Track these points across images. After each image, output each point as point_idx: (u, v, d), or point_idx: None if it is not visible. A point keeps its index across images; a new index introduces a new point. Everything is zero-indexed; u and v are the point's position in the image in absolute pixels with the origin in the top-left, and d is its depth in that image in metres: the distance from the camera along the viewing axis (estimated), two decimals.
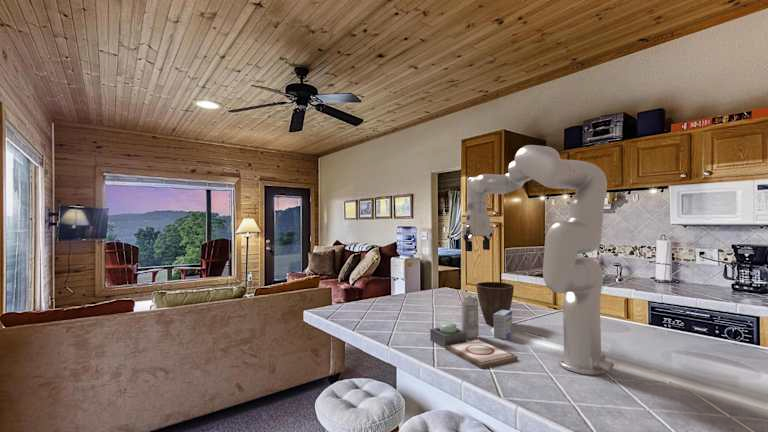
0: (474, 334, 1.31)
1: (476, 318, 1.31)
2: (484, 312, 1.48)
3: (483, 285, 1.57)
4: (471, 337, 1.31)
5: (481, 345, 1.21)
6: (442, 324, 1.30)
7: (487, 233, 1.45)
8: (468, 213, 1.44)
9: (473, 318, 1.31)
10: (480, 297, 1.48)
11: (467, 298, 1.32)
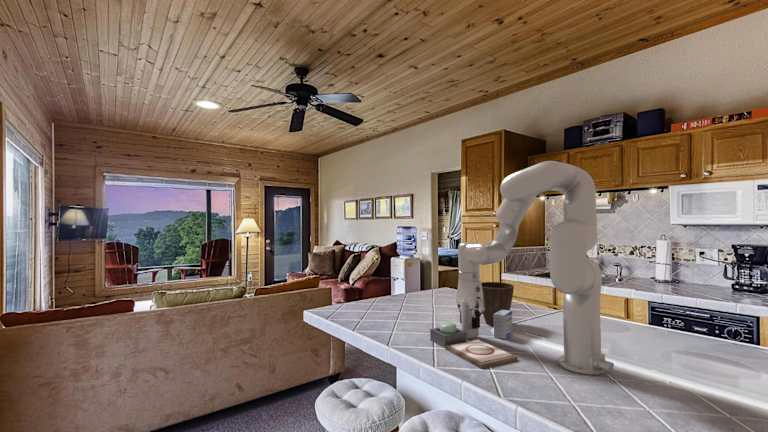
0: (474, 334, 1.31)
1: None
2: (484, 312, 1.48)
3: (483, 285, 1.57)
4: (471, 337, 1.31)
5: (481, 345, 1.21)
6: (442, 324, 1.30)
7: None
8: (476, 284, 1.30)
9: None
10: None
11: None
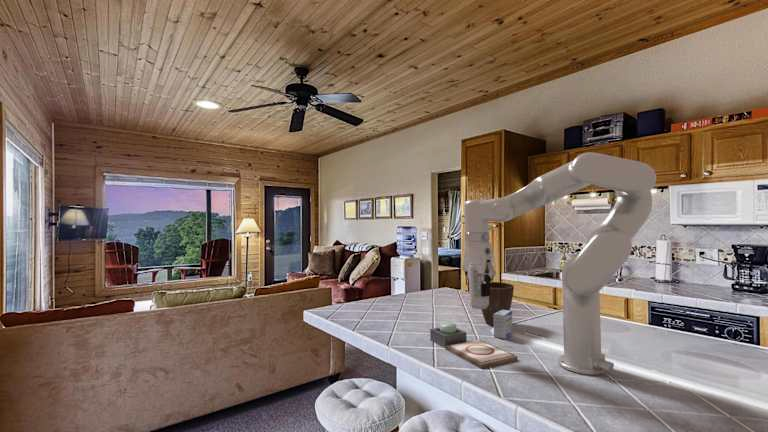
0: (484, 303, 1.15)
1: None
2: (484, 312, 1.48)
3: None
4: (480, 306, 1.15)
5: (481, 345, 1.21)
6: (442, 324, 1.30)
7: None
8: (486, 245, 1.14)
9: None
10: None
11: None
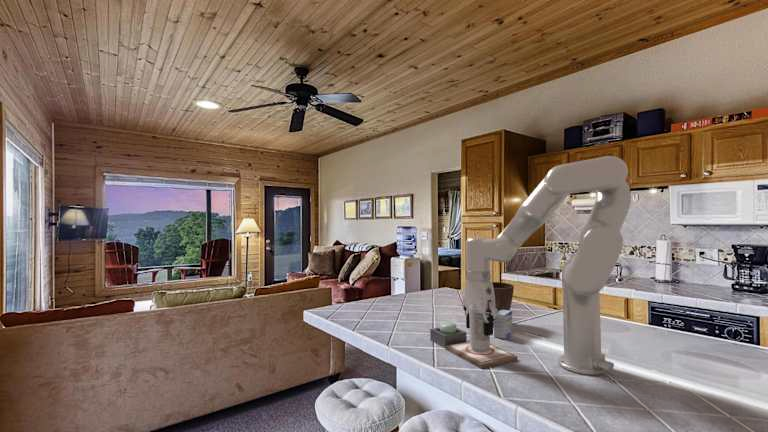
0: (485, 346, 1.14)
1: None
2: None
3: None
4: (481, 349, 1.14)
5: None
6: (442, 324, 1.30)
7: None
8: (487, 285, 1.13)
9: (483, 327, 1.14)
10: None
11: None
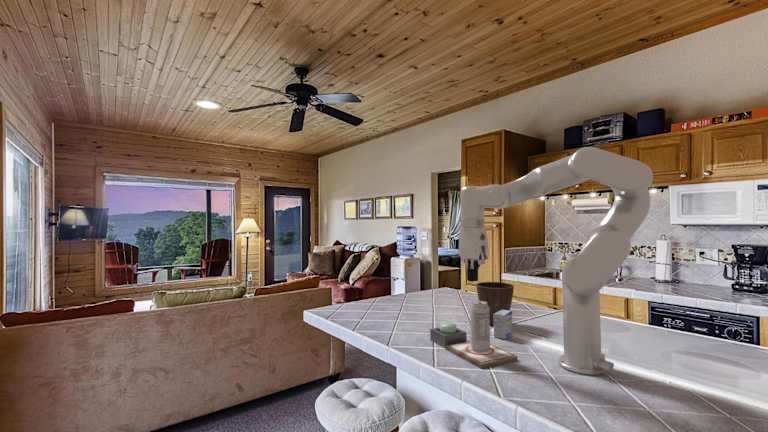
0: (485, 346, 1.14)
1: (487, 328, 1.14)
2: None
3: (483, 285, 1.57)
4: (481, 349, 1.14)
5: None
6: (442, 324, 1.30)
7: None
8: (481, 231, 1.15)
9: (484, 328, 1.14)
10: (480, 297, 1.48)
11: (477, 305, 1.15)
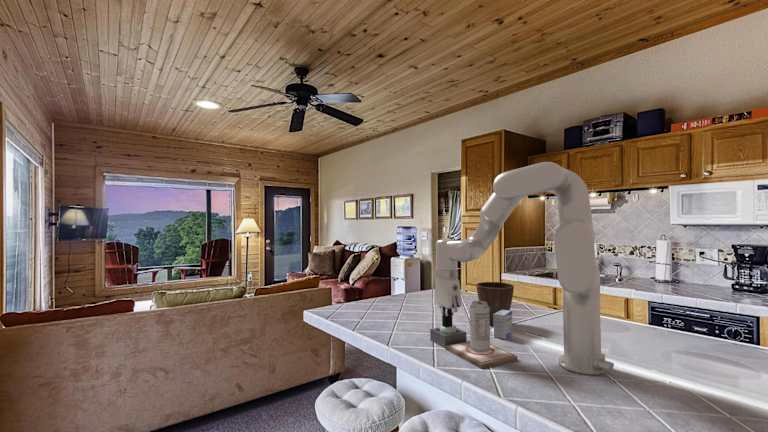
0: (485, 346, 1.14)
1: (487, 328, 1.14)
2: None
3: (483, 285, 1.57)
4: (481, 349, 1.14)
5: None
6: (442, 326, 1.30)
7: None
8: (454, 282, 1.25)
9: (484, 328, 1.14)
10: (480, 297, 1.48)
11: (477, 305, 1.15)
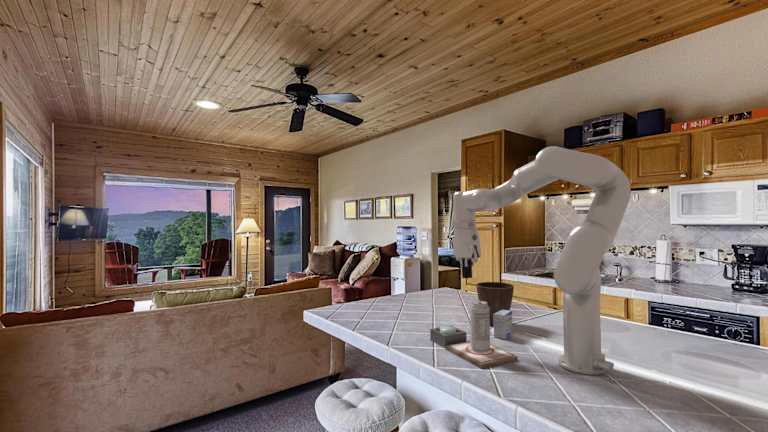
0: (485, 346, 1.14)
1: (487, 328, 1.14)
2: None
3: (483, 285, 1.57)
4: (481, 349, 1.14)
5: None
6: (442, 328, 1.30)
7: None
8: (473, 232, 1.26)
9: (484, 328, 1.14)
10: (480, 297, 1.48)
11: (477, 305, 1.15)
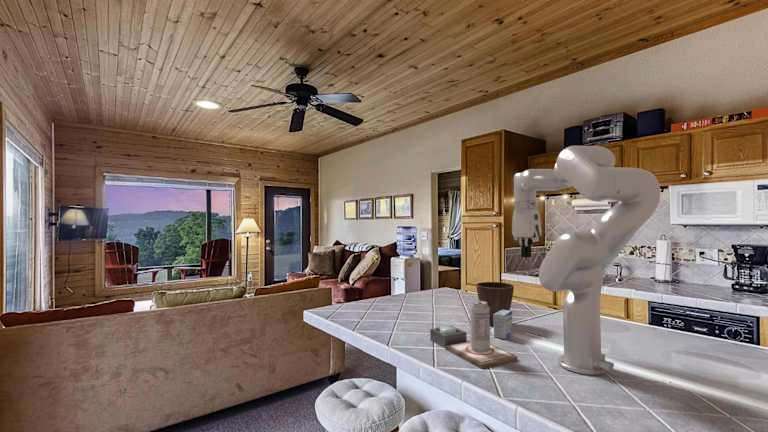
0: (485, 346, 1.14)
1: (487, 328, 1.14)
2: None
3: (483, 285, 1.57)
4: (481, 349, 1.14)
5: None
6: (442, 328, 1.30)
7: None
8: (534, 212, 1.28)
9: (484, 328, 1.14)
10: (480, 297, 1.48)
11: (477, 305, 1.15)
